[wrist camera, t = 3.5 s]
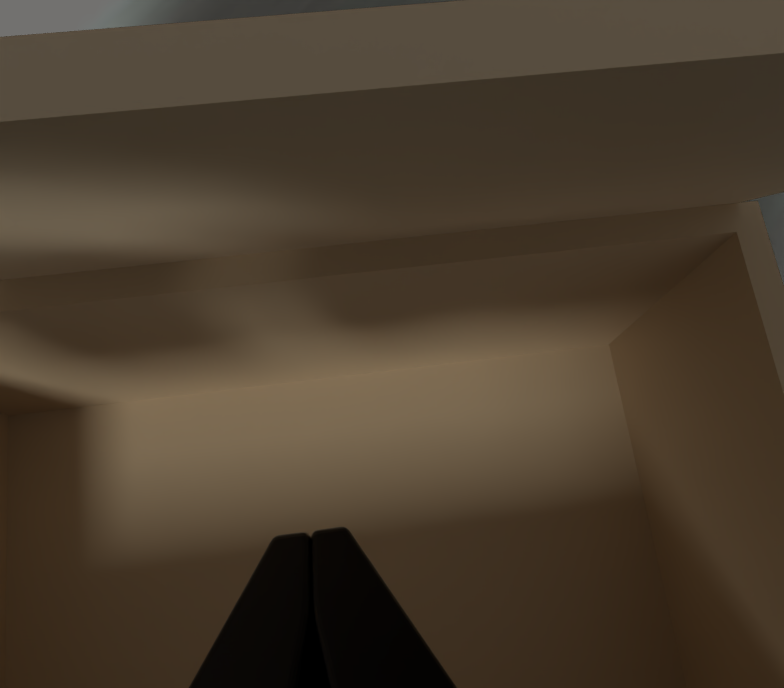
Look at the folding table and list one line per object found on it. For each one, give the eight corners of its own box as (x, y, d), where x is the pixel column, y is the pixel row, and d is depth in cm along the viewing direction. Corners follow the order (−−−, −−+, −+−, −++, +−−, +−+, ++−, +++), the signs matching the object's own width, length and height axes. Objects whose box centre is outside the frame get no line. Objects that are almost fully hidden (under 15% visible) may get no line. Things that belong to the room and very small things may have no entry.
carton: (722, 775, 19) (976, 923, 11) (-15, 901, 17) (-313, 1171, 10) (618, 327, 22) (757, 200, 14) (-6, 400, 21) (-222, 303, 13)
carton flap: (1678, -26, 4) (1677, -96, 4) (-1952, 294, 3) (-1986, 193, 3) (738, 202, 14) (736, 181, 14) (-197, 300, 13) (-201, 278, 13)
